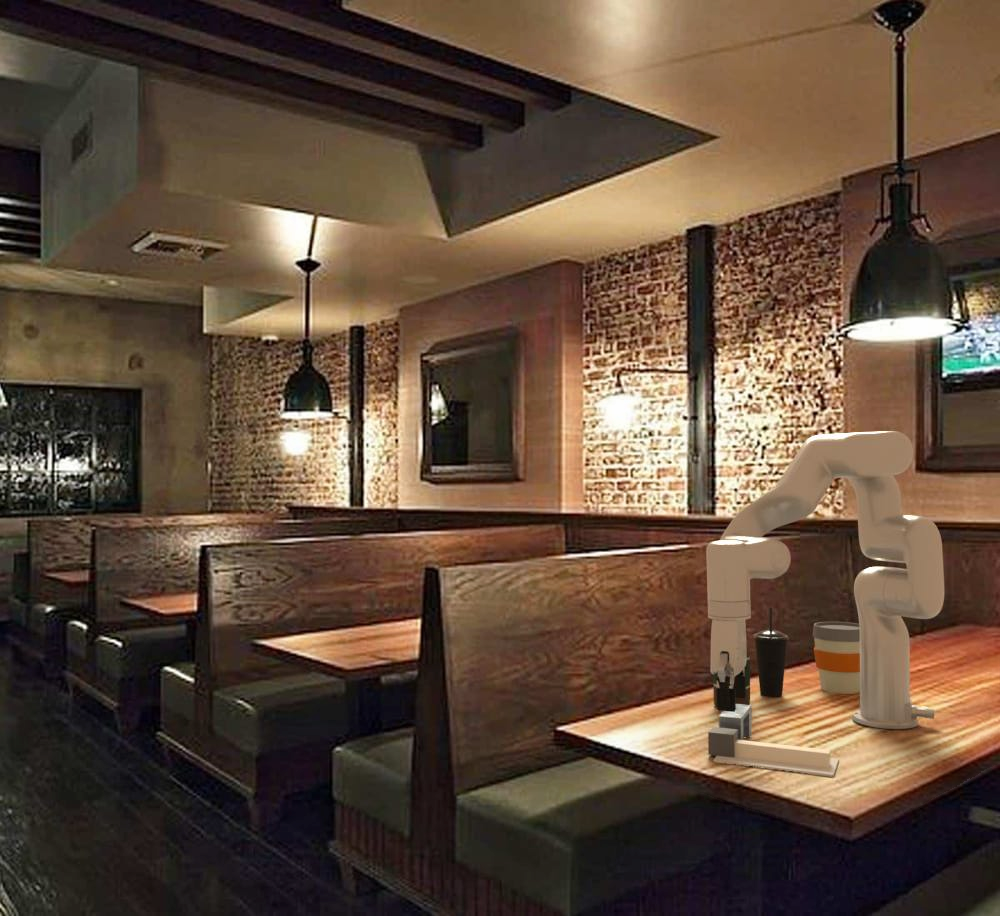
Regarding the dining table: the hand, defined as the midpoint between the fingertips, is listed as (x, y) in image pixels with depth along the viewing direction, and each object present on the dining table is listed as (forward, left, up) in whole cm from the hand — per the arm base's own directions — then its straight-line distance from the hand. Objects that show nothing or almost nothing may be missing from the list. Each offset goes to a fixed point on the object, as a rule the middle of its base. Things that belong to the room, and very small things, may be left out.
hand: (731, 703), depth 173 cm
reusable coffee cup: (-13, -64, -9) cm, 66 cm away
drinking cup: (+1, -51, -9) cm, 52 cm away
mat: (-8, +1, -9) cm, 12 cm away
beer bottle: (+7, -36, -9) cm, 38 cm away
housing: (+1, -9, -9) cm, 13 cm away
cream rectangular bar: (-7, +1, -9) cm, 11 cm away
